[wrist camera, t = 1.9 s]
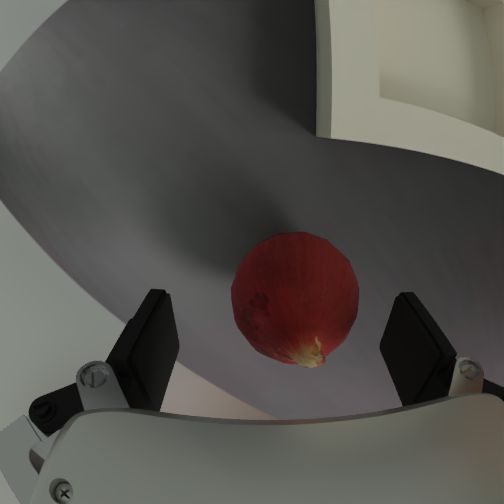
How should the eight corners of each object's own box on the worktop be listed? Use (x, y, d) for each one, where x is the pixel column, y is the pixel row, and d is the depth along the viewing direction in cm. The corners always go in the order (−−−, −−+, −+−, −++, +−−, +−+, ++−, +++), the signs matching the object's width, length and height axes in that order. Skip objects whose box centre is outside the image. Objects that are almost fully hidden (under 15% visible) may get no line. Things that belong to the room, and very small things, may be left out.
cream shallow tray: (488, 4, 6) (515, -5, 3) (501, 173, 12) (534, 186, 9) (308, -62, 7) (315, -92, 4) (315, 136, 13) (330, 138, 10)
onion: (268, 315, 18) (267, 422, 10) (220, 242, 16) (182, 339, 8) (352, 277, 16) (397, 376, 9) (313, 193, 14) (359, 262, 7)
